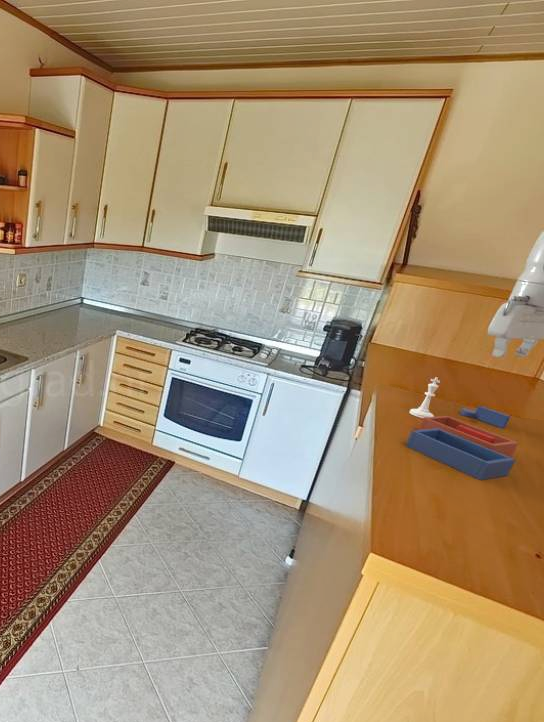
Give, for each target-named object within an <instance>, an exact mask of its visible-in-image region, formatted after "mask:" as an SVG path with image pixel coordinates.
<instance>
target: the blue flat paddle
mask: <svg viewBox="0 0 544 722" xmlns="http://www.w3.org/2000/svg"><path fill="white" fill-rule="evenodd" d="M459 414H460V415H462V416H465V417H467V418H472V419H475V420H479V421H482V422H484V423H487V424H490V425H492V426H495V427H497V428H501V429H506V427H507V425H508V423H509V421H510V418H511V415H509V414H505V413H503V412H500V411H497V410H494V409H490V408H488V407H485V406H482V405H478V406H477V408H476V409H475V410H473V409H469V408H464V407H463V408H461V409H460V412H459Z"/></svg>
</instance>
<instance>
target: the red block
mask: <svg viewBox="0 0 544 722" xmlns="http://www.w3.org/2000/svg"><path fill="white" fill-rule="evenodd" d="M456 430H459V431H461V432H464V433H466V434H469V435H471V436H474V437H477V438H479V439H482V440H484V441H487V442H489V443H492V444H493V442H494V439H495V438H493V437H490V436H488V435H485V434H483V433H480V432H477V431H475V430H472V429H470V428H467V427H464V426H462V425H458V427H457V429H456Z"/></svg>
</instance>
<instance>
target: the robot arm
mask: <svg viewBox="0 0 544 722" xmlns="http://www.w3.org/2000/svg"><path fill="white" fill-rule="evenodd" d="M487 335H488V336H492V337H494V349H493V352H492V353H491V355H492V356H493V357H497V358H505V357H506V354H507V352H508V349H507V347H508V344H510V343H511V340H512V339H513V340H514V339H517V340H522V343H521V344H520V346H519V347H517V348H516V350H515V351H514V356H516V357H520V358H526V357H528V355H529V353H530V351H531V350H532V349H534V347H535V346H536V345H537V344H538V342H539V340H544V230H543V231H541V233H540V235H539V236H538V238H537V239H536V241H535V243H534V244H533V247H532V248H531V250H530V252H529V254H528V256H527V258H526V262H525V267H524V271H523V272H522V274H520V275H519V277H518V278H517V280H516V282H515V284H514V287H513V288H512V291H511V293H510V295H509V297H508V299H507V302H503V303H502V304H501V305H500V307H498V309H497V311H496V313H495V314H494V316H493V318H492V319H491V321H490V324H489V326H488V327H487Z"/></svg>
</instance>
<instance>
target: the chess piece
mask: <svg viewBox="0 0 544 722" xmlns="http://www.w3.org/2000/svg"><path fill="white" fill-rule="evenodd" d="M430 381H431V382H432V383H428V384H427V391H425V392H424V395H426V396H425V398H424V399H423V402H422V403H421V405H420V406H419V407H417V408H410V410H409V411H408V412H409V414H410V415H412V416H415V417H417V418H420V419H423V418H424V417H435V415H434V414H433V413H431V412H430V410H429V409H430V408H429V407H430V403H431V399H432V398H433V397H436V394H435V391H437V390H438V389H439V388H440V387H439V385H438V384H437V383H439V384H440V383H441V380H439V377H437V376H435V377H434V378H430Z"/></svg>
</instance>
